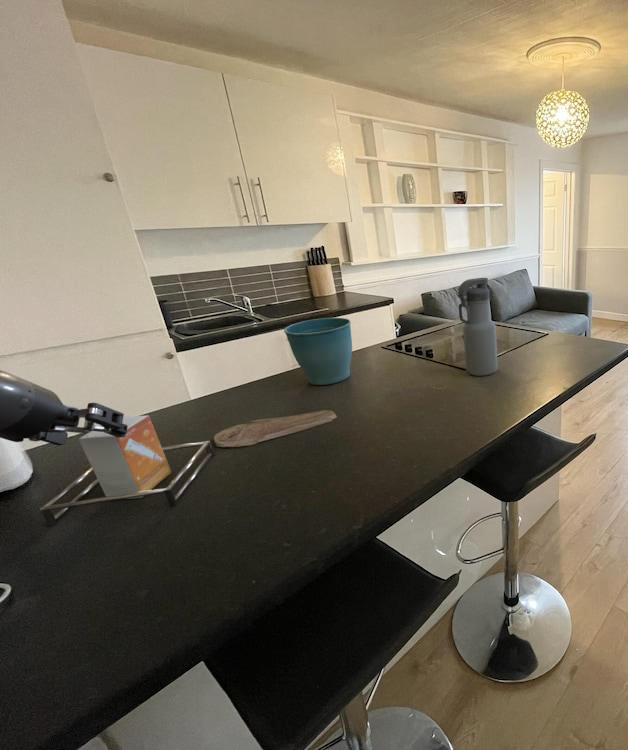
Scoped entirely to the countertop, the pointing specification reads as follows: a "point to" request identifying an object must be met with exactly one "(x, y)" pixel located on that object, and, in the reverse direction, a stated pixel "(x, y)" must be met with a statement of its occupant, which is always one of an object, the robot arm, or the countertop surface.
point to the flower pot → (322, 348)
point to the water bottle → (478, 328)
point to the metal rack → (168, 491)
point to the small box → (127, 458)
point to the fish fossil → (270, 428)
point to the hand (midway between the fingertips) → (94, 435)
